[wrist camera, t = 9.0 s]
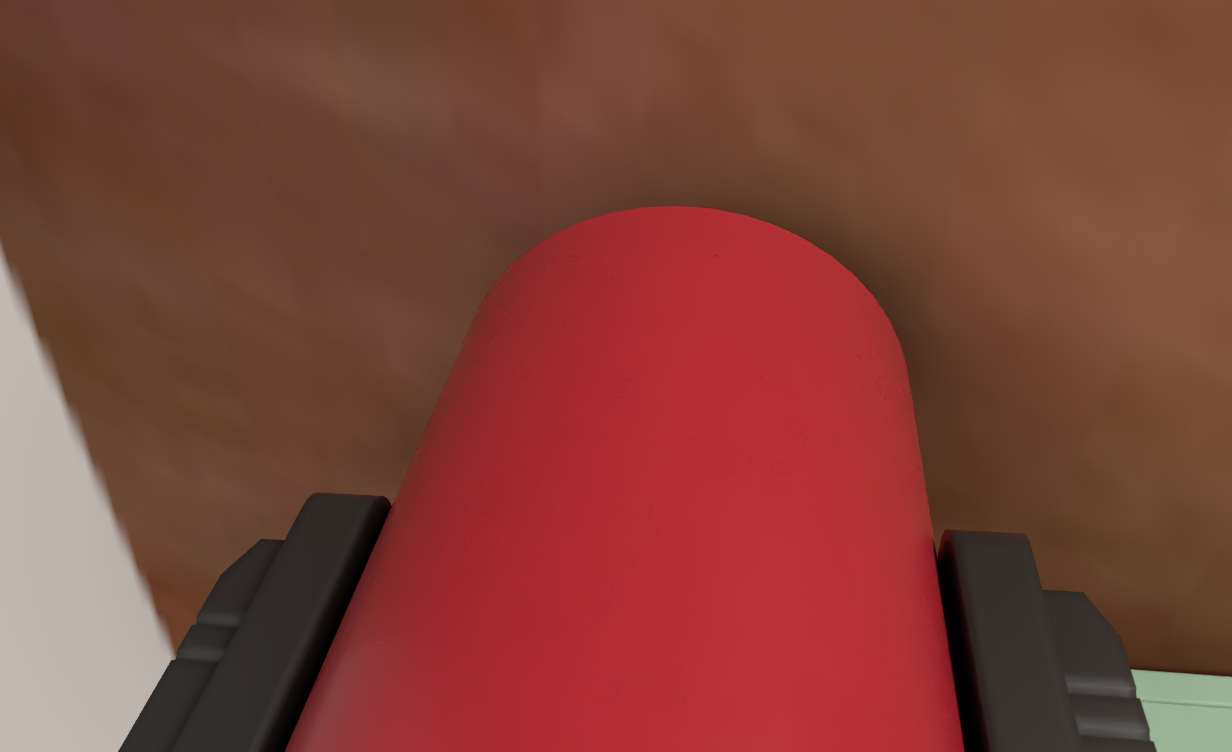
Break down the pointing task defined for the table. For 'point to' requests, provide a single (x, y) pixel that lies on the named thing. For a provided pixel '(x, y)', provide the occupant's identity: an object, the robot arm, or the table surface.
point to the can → (656, 517)
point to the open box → (1186, 710)
